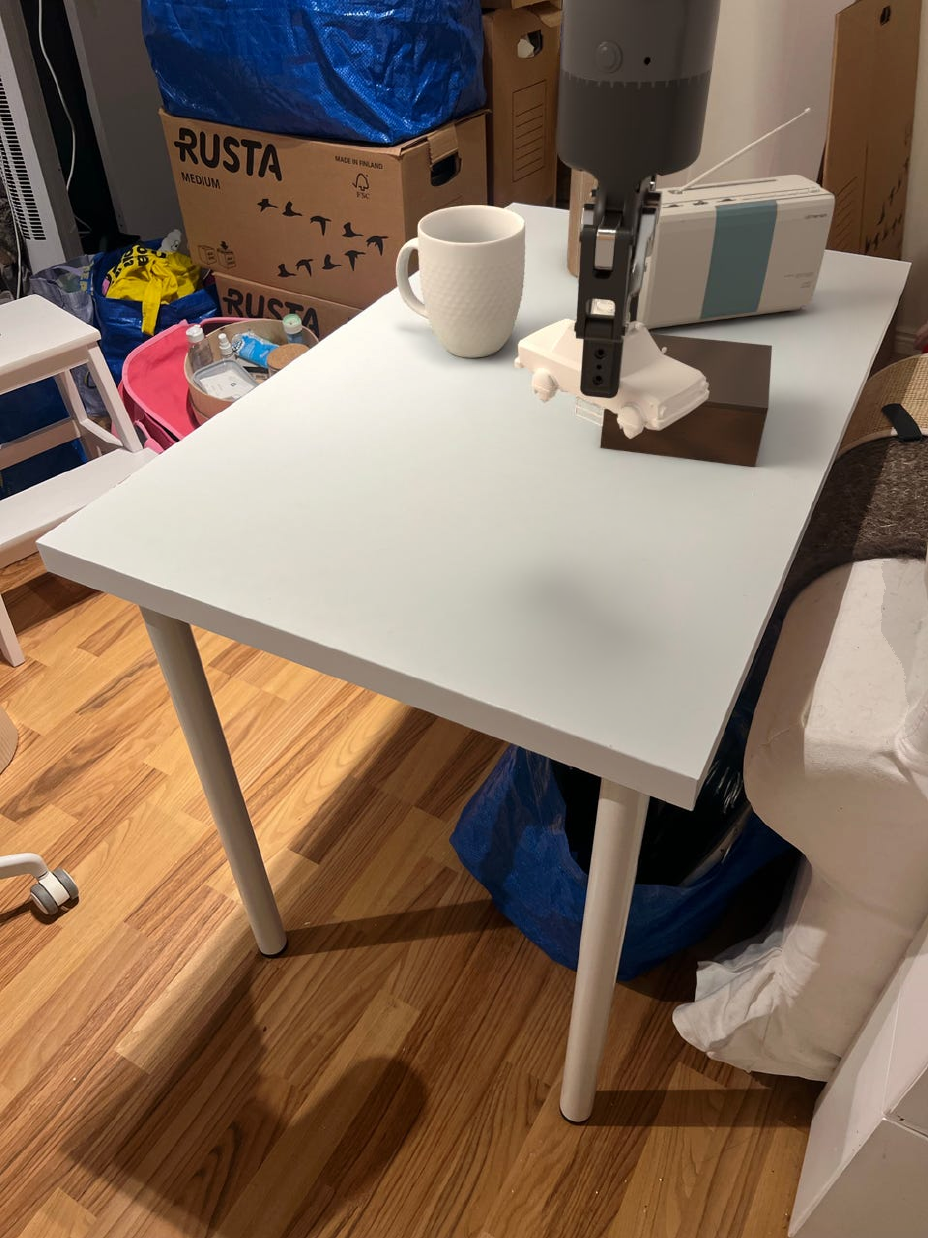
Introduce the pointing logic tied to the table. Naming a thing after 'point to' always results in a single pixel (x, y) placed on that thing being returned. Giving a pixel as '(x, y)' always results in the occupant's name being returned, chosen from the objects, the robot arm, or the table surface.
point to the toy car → (647, 378)
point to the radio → (735, 248)
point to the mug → (467, 276)
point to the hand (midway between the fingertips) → (608, 363)
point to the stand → (709, 405)
